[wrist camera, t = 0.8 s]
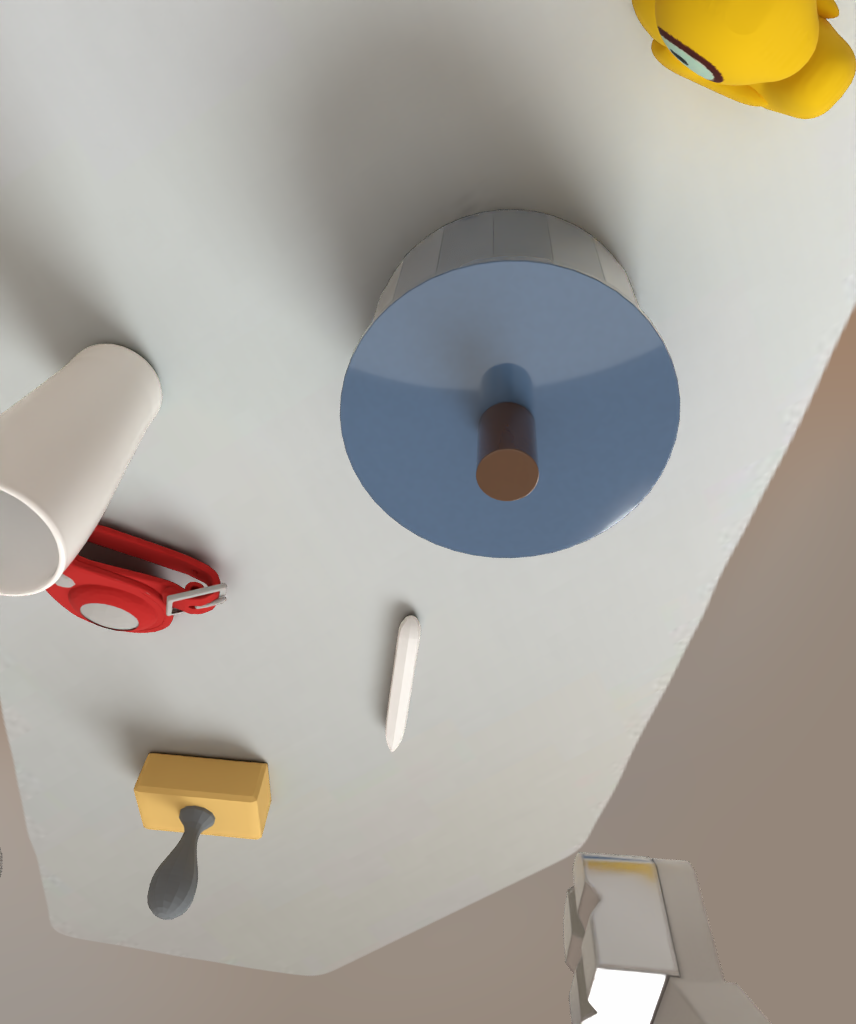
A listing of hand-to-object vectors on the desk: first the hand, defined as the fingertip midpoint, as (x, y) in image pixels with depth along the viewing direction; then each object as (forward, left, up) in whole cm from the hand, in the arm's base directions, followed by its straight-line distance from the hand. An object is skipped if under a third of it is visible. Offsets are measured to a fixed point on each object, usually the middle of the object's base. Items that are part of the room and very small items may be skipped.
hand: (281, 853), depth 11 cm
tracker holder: (+27, -19, -35) cm, 48 cm away
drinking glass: (+12, -18, -35) cm, 41 cm away
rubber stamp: (+49, -17, -35) cm, 62 cm away
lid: (+8, +4, -27) cm, 28 cm away
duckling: (-8, +11, -35) cm, 38 cm away
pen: (+35, -1, -35) cm, 49 cm away
